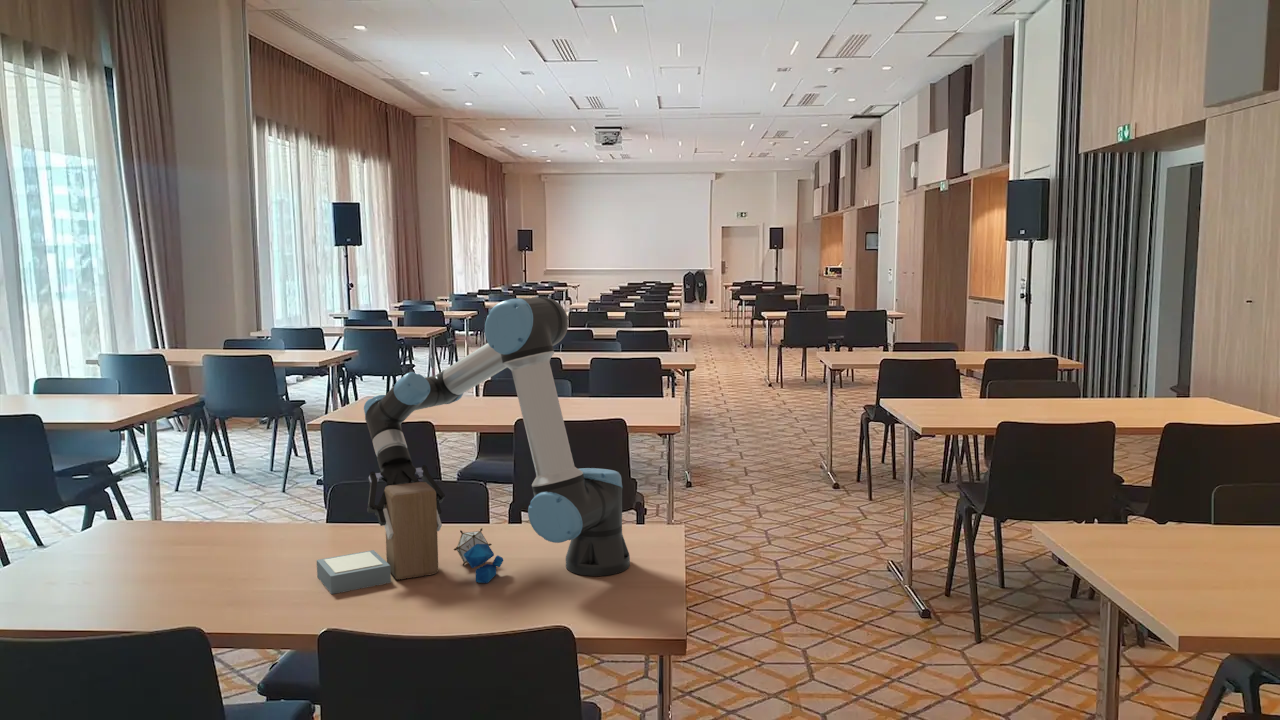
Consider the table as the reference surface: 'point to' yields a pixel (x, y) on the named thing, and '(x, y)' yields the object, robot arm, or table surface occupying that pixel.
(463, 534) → the game die
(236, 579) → the table surface
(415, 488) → the wooden block
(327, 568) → the base
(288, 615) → the table surface
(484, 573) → the blue faceted figurine
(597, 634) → the table surface
